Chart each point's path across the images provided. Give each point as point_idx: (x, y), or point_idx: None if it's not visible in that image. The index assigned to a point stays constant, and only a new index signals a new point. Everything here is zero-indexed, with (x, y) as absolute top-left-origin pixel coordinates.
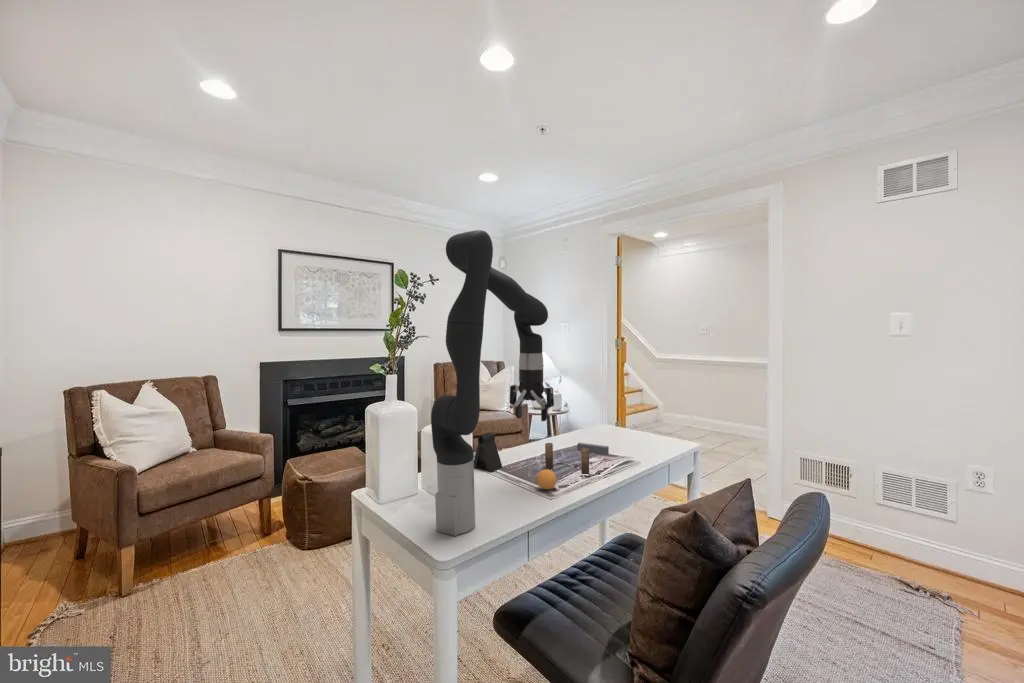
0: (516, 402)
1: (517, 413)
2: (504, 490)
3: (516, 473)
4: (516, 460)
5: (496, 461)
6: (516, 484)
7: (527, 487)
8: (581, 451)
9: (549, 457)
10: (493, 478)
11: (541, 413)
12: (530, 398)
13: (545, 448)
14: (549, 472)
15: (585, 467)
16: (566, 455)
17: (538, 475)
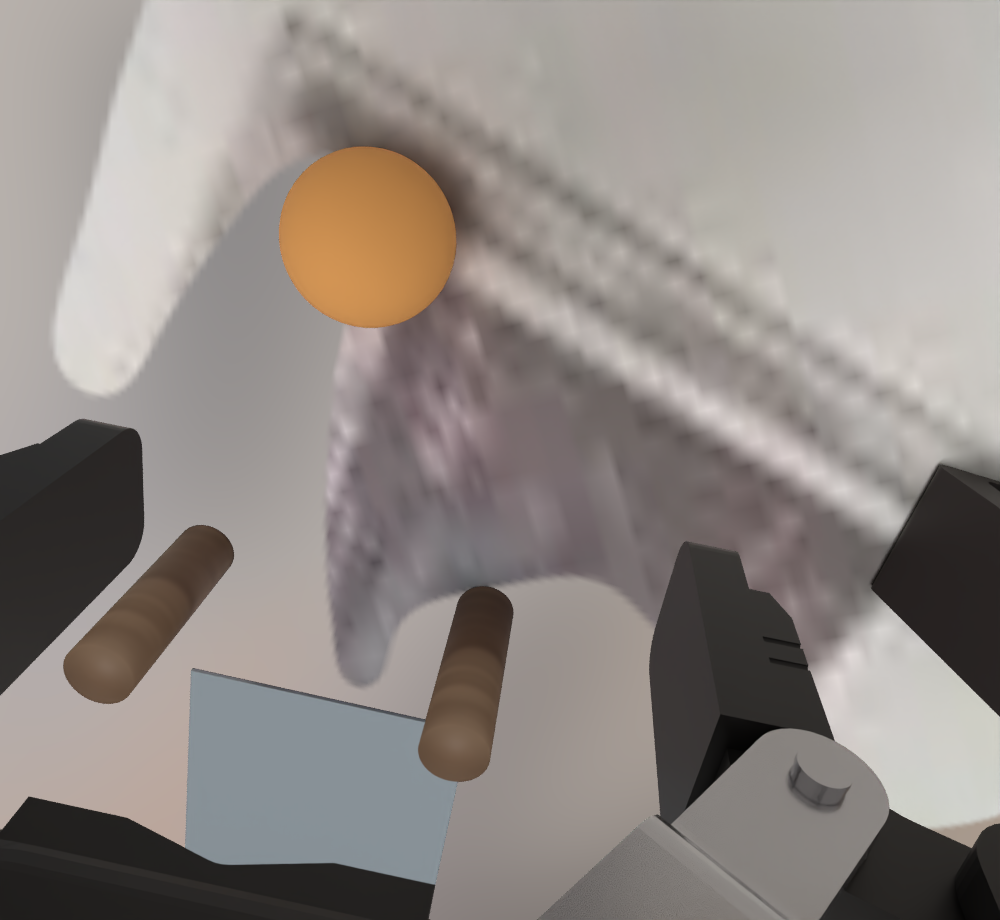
0: (824, 846)
1: (727, 600)
2: (731, 95)
3: (719, 489)
4: None
5: (937, 580)
6: (659, 259)
7: (550, 220)
8: (133, 647)
9: (460, 651)
10: (896, 339)
11: (24, 495)
12: (153, 906)
13: (488, 712)
14: (309, 223)
15: (162, 561)
16: (439, 863)
17: (420, 201)
